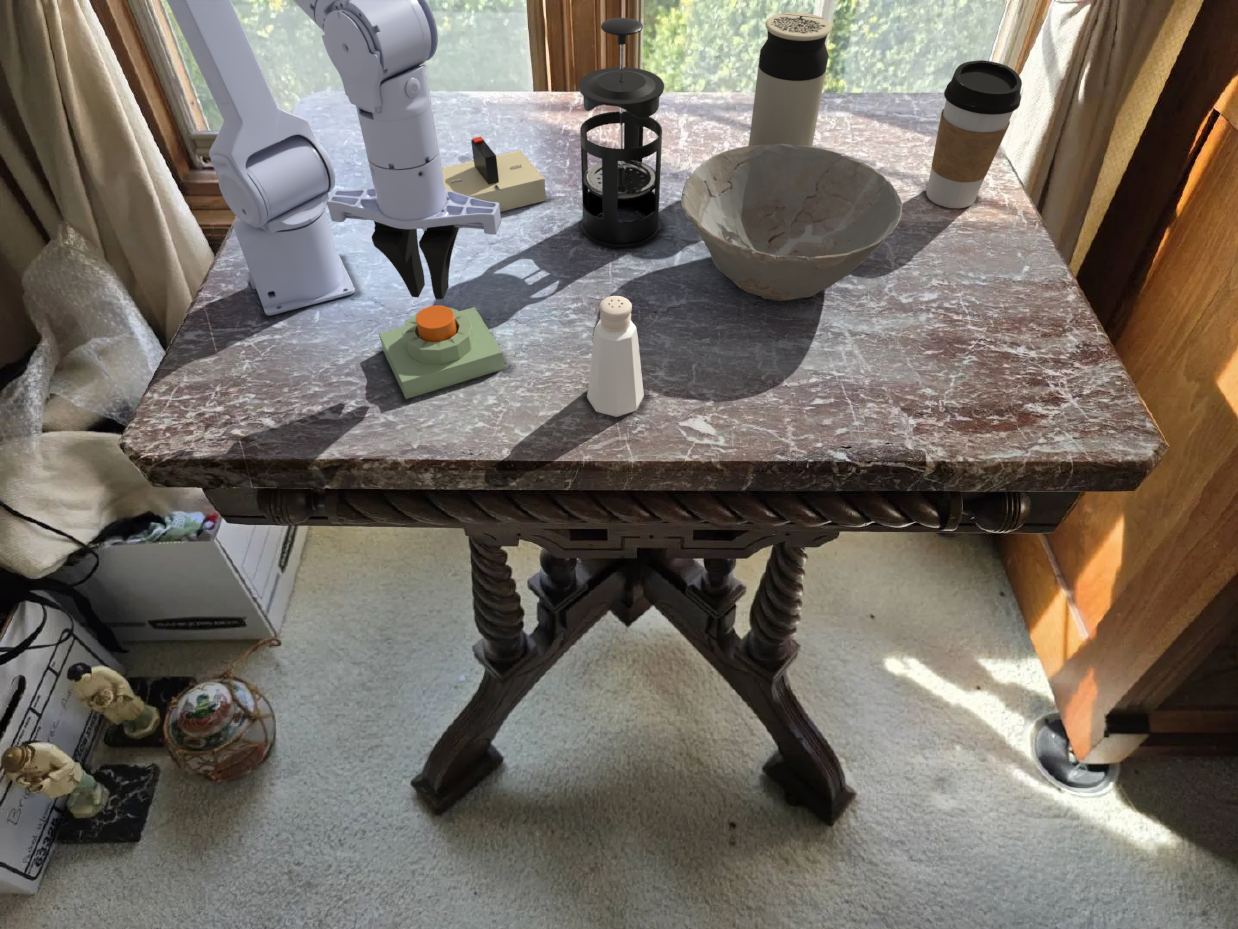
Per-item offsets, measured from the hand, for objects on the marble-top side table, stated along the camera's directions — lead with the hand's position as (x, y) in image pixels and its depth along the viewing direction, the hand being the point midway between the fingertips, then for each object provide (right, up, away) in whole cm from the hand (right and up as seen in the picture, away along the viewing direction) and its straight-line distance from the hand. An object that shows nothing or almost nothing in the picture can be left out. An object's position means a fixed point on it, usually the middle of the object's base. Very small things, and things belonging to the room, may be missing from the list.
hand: (430, 291), depth 78 cm
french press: (+18, +13, +23) cm, 32 cm away
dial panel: (+1, +17, +27) cm, 32 cm away
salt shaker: (+17, -10, +3) cm, 20 cm away
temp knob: (+1, +20, +25) cm, 32 cm away
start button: (0, -3, +3) cm, 5 cm away
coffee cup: (+59, +17, +28) cm, 68 cm away
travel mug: (+38, +22, +32) cm, 55 cm away
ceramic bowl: (+35, +5, +16) cm, 39 cm away
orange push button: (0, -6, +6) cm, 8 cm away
